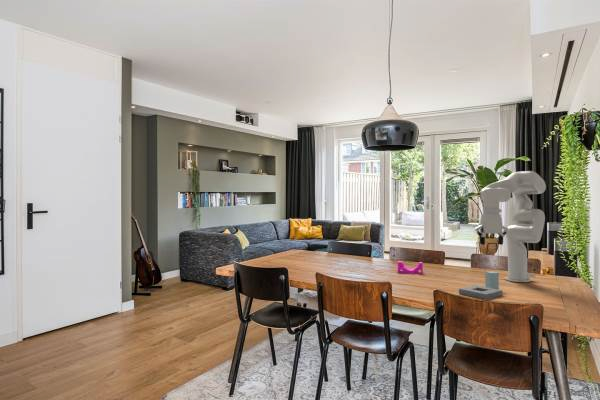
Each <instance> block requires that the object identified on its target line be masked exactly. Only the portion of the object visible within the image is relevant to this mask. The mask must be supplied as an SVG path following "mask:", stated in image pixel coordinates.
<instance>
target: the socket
mask: <svg viewBox="0 0 600 400" xmlns="http://www.w3.org/2000/svg"><path fill="white" fill-rule="evenodd" d="M458 294H459V295H463V296H469V297H472V298H477V299H481V300H485V299H487V300H492V299H494V298H498V297H501V296H503V290H501V289H499V290H498V289H493V288H487V287H485V286H482V285H477V284H476V285H475V284H473V285H469V286H465V287H464V286H463V287H460V288H458Z"/></svg>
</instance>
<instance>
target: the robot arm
mask: <svg viewBox="0 0 600 400" xmlns="http://www.w3.org/2000/svg"><path fill="white" fill-rule="evenodd" d="M546 189H547V185H546V181H545V180H544V179H543V178H542V177H541V176H540V175H539V174H538V173H537V172H535V171H533V170H524V171H515V172H512V173H510V174H509V175H508V176H506V178H504V179H502V180H498V181H496V182H492V183H490V184H488V185H486V186H485V187H484V188H483V189H482V190H481V192H480V199H481V200H482V201H483V203H482V204H483V210H482V211H483V213H482V214H481V216H480V223H479V226H477V227H475V228H474V231H475V233H476V234H477V236H478V237H479V244H480V245H483V246H485V244H486V239H485V238H486V237H485V235H486V234H497V235H498V237H497V244H498V245H500V246H502V245H503V244H504V237H506V242H507V244H506V245H507V276H505V277H504V280H506V281H509V282H515V283H529V282H531V279H530V278H536V274H535V273H530V272H528V250H527V248H526V245H524V243H527V244H528V243H531V244H538V243H539V242H540V241H541V240H542V239H541V238H542V235H543V230H544V228H545V227H544V226H545V221H546V216H545V213H544V211H543V210H541V209H539V208H533V205H534V203H533V201H532V200H531V198H530V197H529V196H528V195H539V194H543V193H544V192H545V191H546ZM512 193H513V195H514V199H515V207H514V210H513V215H512V222H513V223H514V224H513V225H509V226H507V227H506V226H504V225H503V219H502V214H501V213H502V210H503V209H500V203H506V202H508V201H510V199H511V196H512Z"/></svg>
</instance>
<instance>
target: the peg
mask: <svg viewBox="0 0 600 400" xmlns="http://www.w3.org/2000/svg"><path fill="white" fill-rule="evenodd" d="M484 274H485V278H484V279H485V280H484V281H485V286H484V287H487V288H493V289H498V290H500V281H499V276H500V274H499V272H497V271H493V270H492V271H491V270H490V271H489V270H488V271H484Z"/></svg>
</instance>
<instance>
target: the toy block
mask: <svg viewBox="0 0 600 400" xmlns="http://www.w3.org/2000/svg"><path fill="white" fill-rule="evenodd" d="M423 265H424V264H423V262H422V261H419V262H418V265H417V266H416V267H414V268H408V267H406V266H405V264H404V262H403V261H402V260H401V261H400V260H398V261H397V274H399V273H400V274H413V275H415V274H423V272H424V271H423Z"/></svg>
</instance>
